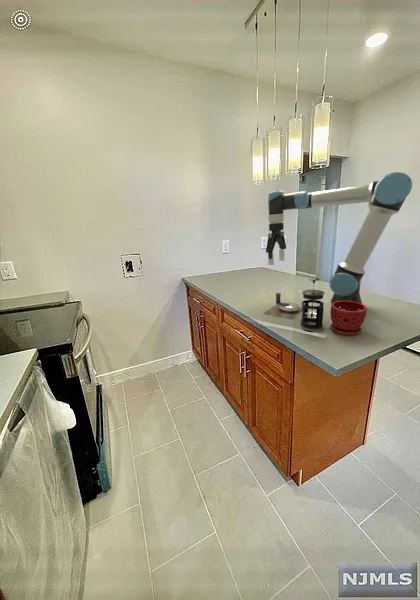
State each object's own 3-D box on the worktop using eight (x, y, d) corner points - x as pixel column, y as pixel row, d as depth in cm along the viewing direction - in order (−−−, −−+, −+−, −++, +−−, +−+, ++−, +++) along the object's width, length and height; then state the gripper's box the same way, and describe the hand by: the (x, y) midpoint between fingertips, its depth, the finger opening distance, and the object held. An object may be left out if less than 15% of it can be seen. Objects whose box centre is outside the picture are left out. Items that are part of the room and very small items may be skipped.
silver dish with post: (302, 308, 132) (303, 293, 130) (295, 314, 125) (295, 298, 122) (279, 304, 140) (280, 290, 137) (271, 309, 133) (272, 295, 130)
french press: (295, 324, 117) (297, 277, 110) (313, 321, 118) (316, 274, 111) (310, 335, 106) (313, 283, 99) (329, 331, 107) (334, 280, 100)
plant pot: (323, 331, 108) (325, 305, 105) (338, 322, 116) (340, 298, 112) (354, 341, 98) (358, 313, 95) (368, 331, 106) (372, 304, 102)
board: (306, 310, 133) (306, 307, 133) (292, 322, 119) (293, 319, 119) (278, 305, 143) (278, 303, 142) (262, 316, 129) (262, 313, 129)
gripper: (279, 222, 143) (279, 258, 149) (258, 224, 125) (259, 266, 131) (292, 221, 138) (292, 259, 144) (272, 223, 120) (272, 267, 126)
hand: (276, 262), depth 138 cm, fingers open, 13 cm apart
